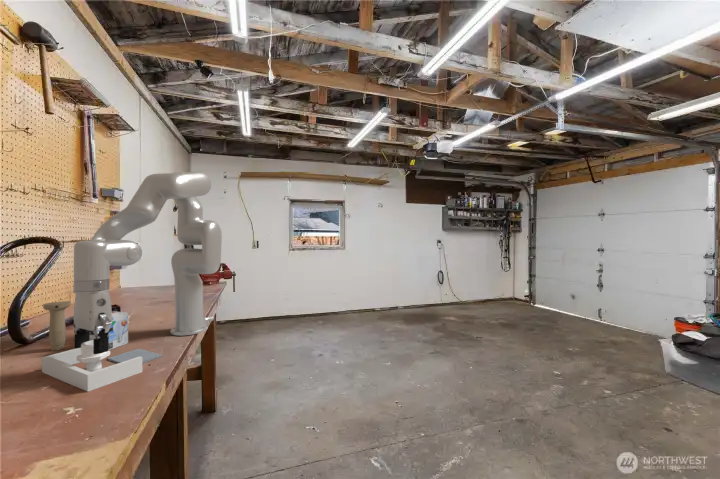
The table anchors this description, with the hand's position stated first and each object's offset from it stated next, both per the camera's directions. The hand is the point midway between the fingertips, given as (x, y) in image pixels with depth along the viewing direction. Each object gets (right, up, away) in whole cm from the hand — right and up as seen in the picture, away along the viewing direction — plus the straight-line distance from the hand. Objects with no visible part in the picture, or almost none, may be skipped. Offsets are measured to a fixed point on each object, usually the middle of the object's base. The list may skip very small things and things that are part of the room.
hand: (91, 349), depth 88 cm
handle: (-25, -6, +17) cm, 31 cm away
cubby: (0, -6, +1) cm, 6 cm away
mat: (+5, -6, +10) cm, 13 cm away
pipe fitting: (0, -6, +1) cm, 6 cm away
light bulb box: (-11, -6, +19) cm, 23 cm away
